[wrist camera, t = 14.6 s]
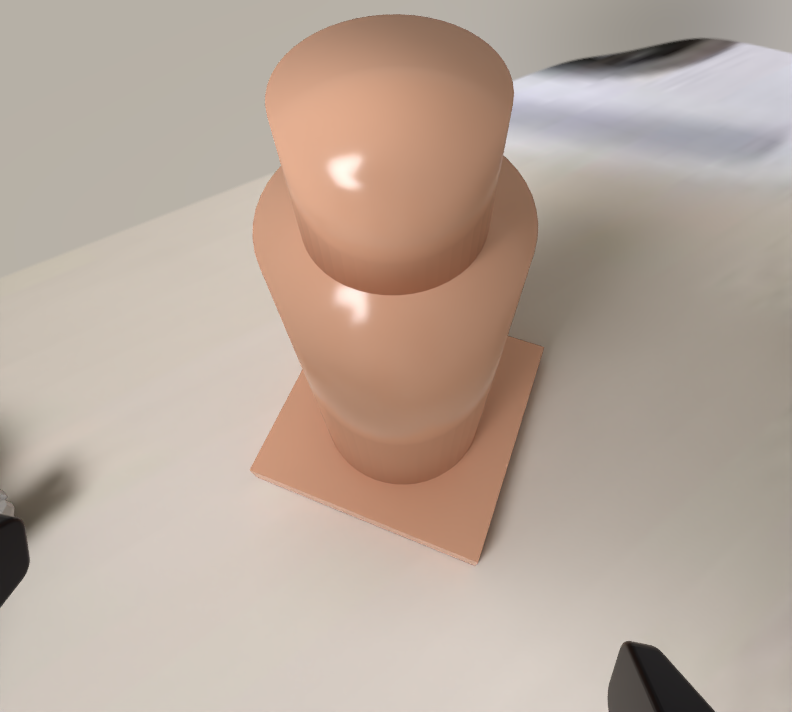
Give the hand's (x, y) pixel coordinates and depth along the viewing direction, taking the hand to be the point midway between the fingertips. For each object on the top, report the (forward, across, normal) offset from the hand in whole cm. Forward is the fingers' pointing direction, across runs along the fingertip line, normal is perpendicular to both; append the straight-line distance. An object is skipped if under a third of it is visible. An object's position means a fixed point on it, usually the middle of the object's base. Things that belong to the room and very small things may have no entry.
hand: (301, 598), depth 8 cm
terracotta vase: (+13, 0, +3) cm, 13 cm away
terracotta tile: (+14, 0, +3) cm, 14 cm away
